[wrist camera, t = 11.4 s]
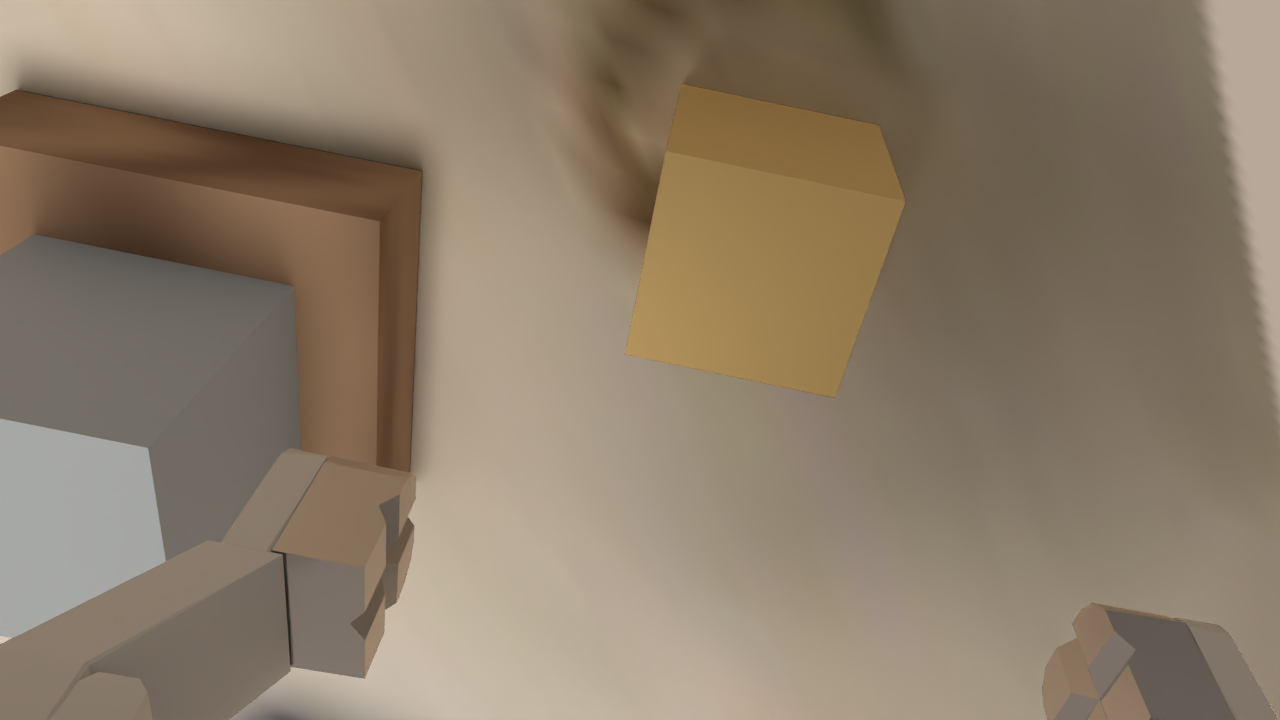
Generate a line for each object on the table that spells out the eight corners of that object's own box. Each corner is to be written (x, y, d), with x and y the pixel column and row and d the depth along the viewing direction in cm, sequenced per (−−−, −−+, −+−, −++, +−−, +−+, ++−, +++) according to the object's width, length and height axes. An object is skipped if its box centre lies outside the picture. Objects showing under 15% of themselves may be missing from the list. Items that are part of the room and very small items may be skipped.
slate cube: (293, 286, 21) (147, 447, 16) (302, 485, 24) (183, 671, 19) (33, 234, 21) (-195, 379, 16) (76, 440, 24) (-102, 615, 19)
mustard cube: (878, 124, 21) (905, 201, 17) (822, 296, 23) (835, 398, 19) (682, 82, 21) (666, 150, 17) (646, 260, 23) (625, 354, 19)
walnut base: (422, 171, 22) (379, 221, 20) (409, 482, 28) (374, 553, 25) (16, 90, 22) (-78, 130, 20) (82, 417, 28) (15, 481, 25)
